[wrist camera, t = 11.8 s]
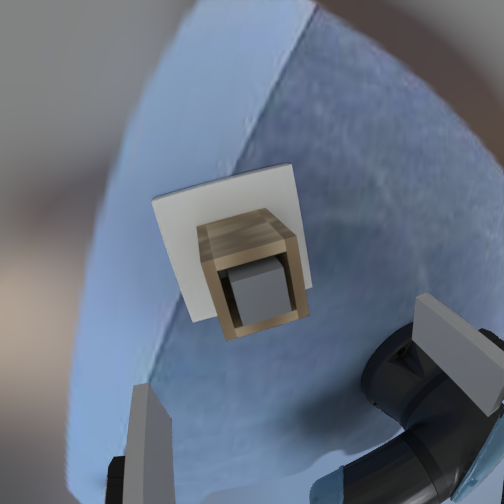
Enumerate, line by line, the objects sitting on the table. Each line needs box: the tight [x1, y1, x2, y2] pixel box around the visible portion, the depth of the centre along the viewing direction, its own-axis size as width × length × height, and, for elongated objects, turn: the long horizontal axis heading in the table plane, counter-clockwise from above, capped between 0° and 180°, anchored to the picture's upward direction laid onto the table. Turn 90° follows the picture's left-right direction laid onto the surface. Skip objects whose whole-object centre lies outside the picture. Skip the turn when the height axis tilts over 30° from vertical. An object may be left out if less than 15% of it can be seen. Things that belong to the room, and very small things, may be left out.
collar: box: [196, 208, 309, 341], centre depth 23 cm, size 6×6×8 cm
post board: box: [151, 163, 312, 326], centre depth 24 cm, size 12×12×10 cm
